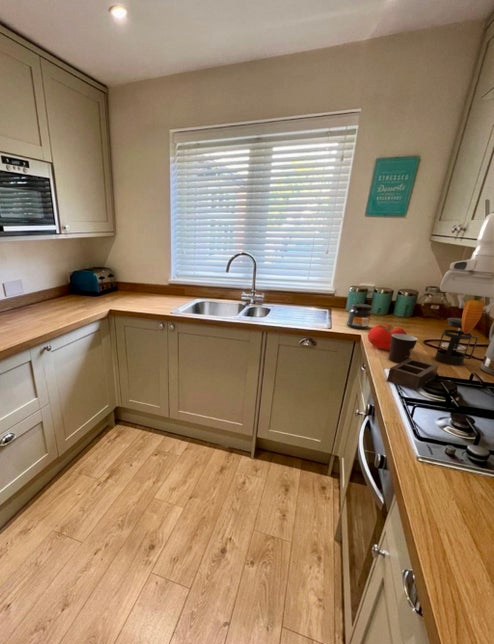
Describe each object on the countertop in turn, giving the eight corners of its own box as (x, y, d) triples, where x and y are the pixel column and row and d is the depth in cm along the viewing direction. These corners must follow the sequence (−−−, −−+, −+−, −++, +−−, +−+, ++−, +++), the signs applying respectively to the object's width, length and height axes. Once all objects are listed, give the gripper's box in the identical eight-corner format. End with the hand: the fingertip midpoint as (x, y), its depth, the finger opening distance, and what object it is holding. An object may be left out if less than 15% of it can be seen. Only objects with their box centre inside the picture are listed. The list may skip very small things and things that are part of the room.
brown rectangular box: (434, 378, 116) (438, 365, 114) (416, 391, 107) (420, 377, 105) (406, 370, 123) (409, 358, 121) (386, 381, 113) (390, 367, 112)
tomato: (407, 348, 147) (413, 326, 144) (397, 356, 136) (403, 333, 133) (373, 340, 157) (377, 320, 153) (360, 347, 146) (365, 326, 142)
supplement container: (367, 330, 172) (372, 308, 168) (345, 327, 177) (349, 305, 173) (368, 326, 180) (373, 304, 176) (347, 323, 185) (351, 302, 181)
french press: (429, 359, 134) (446, 303, 126) (435, 354, 140) (452, 301, 132) (465, 368, 126) (486, 309, 118) (470, 363, 132) (491, 306, 124)
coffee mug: (398, 365, 127) (405, 341, 124) (380, 357, 135) (386, 334, 131) (421, 363, 130) (429, 339, 127) (402, 355, 138) (408, 332, 135)
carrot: (473, 333, 109) (488, 288, 104) (476, 337, 105) (492, 290, 100) (454, 331, 111) (468, 286, 106) (457, 334, 107) (472, 288, 102)
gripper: (537, 268, 95) (519, 315, 99) (451, 262, 110) (439, 303, 115) (533, 269, 91) (515, 318, 96) (444, 263, 106) (432, 305, 111)
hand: (473, 310), depth 105 cm, fingers closed on carrot, 4 cm apart
